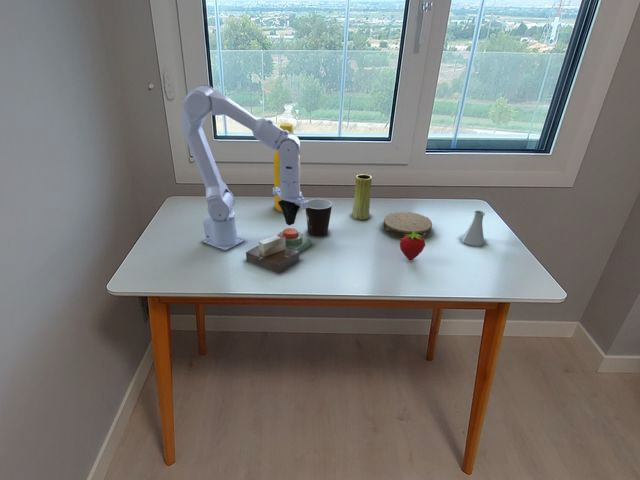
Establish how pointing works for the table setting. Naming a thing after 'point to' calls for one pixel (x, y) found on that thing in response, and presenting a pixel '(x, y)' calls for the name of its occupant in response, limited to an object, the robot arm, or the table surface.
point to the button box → (297, 242)
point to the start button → (290, 233)
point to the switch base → (273, 259)
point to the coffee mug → (318, 217)
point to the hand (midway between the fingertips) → (290, 223)
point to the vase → (362, 197)
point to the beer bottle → (276, 165)
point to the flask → (475, 230)
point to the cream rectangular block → (272, 245)
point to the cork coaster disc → (407, 224)
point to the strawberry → (412, 245)
